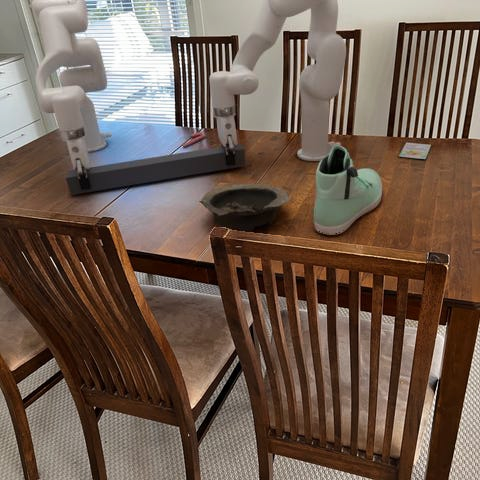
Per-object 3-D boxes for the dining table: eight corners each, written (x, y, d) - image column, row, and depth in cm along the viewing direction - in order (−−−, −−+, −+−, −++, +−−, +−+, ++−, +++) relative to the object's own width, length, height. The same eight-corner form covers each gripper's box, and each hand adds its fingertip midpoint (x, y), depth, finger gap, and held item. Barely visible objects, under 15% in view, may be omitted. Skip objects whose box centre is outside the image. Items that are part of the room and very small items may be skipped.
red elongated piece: (173, 146, 194) (173, 142, 193) (197, 134, 204) (196, 131, 203) (185, 148, 191) (184, 144, 190) (208, 136, 201) (207, 132, 200)
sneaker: (389, 187, 148) (396, 123, 138) (356, 242, 123) (361, 168, 112) (346, 181, 154) (350, 119, 144) (306, 232, 129) (307, 161, 118)
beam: (70, 195, 158) (65, 177, 154) (71, 188, 163) (66, 170, 159) (245, 165, 168) (244, 148, 165) (241, 160, 173) (240, 143, 169)
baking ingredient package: (399, 155, 168) (406, 141, 179) (398, 156, 168) (406, 143, 179) (425, 158, 164) (431, 144, 176) (425, 159, 164) (431, 145, 176)
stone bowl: (227, 251, 123) (222, 218, 119) (191, 218, 143) (186, 190, 139) (307, 222, 132) (305, 191, 128) (262, 196, 152) (259, 168, 148)
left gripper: (84, 140, 144) (97, 193, 154) (85, 123, 159) (98, 173, 168) (58, 143, 143) (73, 197, 153) (62, 126, 157) (76, 176, 167)
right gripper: (241, 116, 153) (245, 168, 162) (229, 102, 167) (233, 151, 177) (218, 119, 151) (223, 172, 161) (208, 105, 166) (213, 154, 175)
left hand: (86, 184), depth 160 cm, fingers closed on beam, 5 cm apart
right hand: (228, 161), depth 169 cm, fingers closed on beam, 5 cm apart
